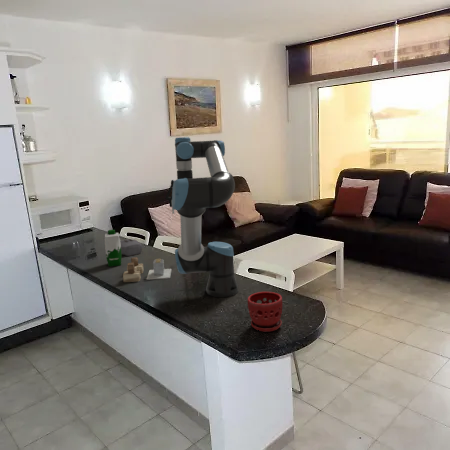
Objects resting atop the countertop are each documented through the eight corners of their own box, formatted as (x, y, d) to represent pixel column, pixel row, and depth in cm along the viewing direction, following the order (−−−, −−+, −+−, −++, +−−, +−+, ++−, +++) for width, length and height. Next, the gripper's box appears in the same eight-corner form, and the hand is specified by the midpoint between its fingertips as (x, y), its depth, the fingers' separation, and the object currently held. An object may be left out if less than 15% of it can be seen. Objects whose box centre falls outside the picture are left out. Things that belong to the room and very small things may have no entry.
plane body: (139, 281, 209) (137, 264, 207) (123, 282, 209) (122, 265, 207) (143, 270, 226) (142, 254, 224) (128, 271, 225) (127, 255, 223)
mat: (169, 278, 212) (169, 277, 212) (146, 279, 211) (146, 278, 211) (171, 269, 225) (171, 268, 225) (149, 270, 225) (149, 269, 224)
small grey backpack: (145, 253, 260) (134, 246, 276) (144, 240, 258) (133, 234, 274) (122, 257, 252) (112, 250, 268) (121, 244, 250) (111, 238, 266)
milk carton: (122, 261, 244) (119, 228, 240) (122, 265, 236) (119, 232, 231) (107, 262, 242) (103, 230, 238) (107, 267, 233) (103, 233, 229)
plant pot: (281, 318, 162) (280, 290, 159) (284, 334, 149) (283, 303, 146) (248, 318, 162) (247, 290, 160) (248, 334, 150) (247, 304, 147)
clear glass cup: (163, 275, 215) (162, 261, 213) (154, 275, 215) (153, 261, 213) (164, 271, 221) (163, 257, 219) (155, 271, 221) (154, 258, 219)
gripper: (209, 167, 202) (211, 209, 207) (159, 170, 201) (162, 212, 206) (210, 169, 195) (212, 212, 200) (158, 171, 194) (161, 215, 198)
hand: (187, 212), depth 203 cm, fingers open, 13 cm apart
